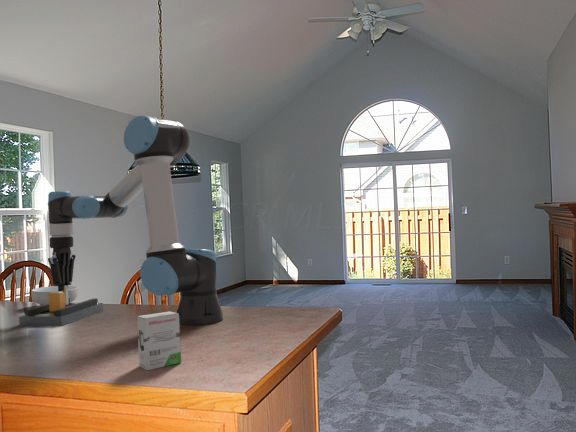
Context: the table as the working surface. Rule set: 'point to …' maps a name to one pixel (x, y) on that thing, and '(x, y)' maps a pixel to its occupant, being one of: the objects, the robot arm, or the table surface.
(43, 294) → the cereal bowl
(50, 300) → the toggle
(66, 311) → the long dark grey rail
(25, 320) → the grey slider base
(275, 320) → the table surface
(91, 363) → the table surface
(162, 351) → the ink box
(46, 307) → the dark grey edge bar
